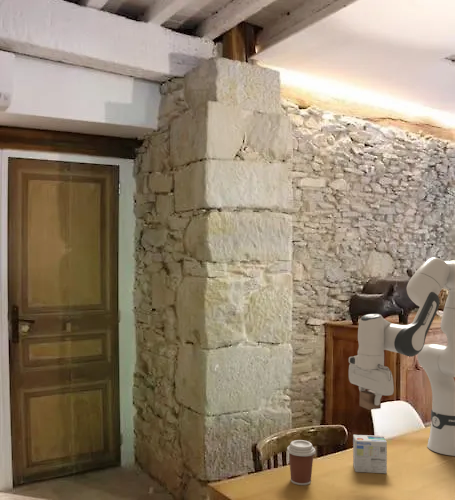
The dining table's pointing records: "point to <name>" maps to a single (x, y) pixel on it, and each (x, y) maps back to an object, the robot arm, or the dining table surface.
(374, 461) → the light bulb box
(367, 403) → the walnut cube
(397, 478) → the dining table surface
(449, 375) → the robot arm
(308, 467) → the coffee cup
